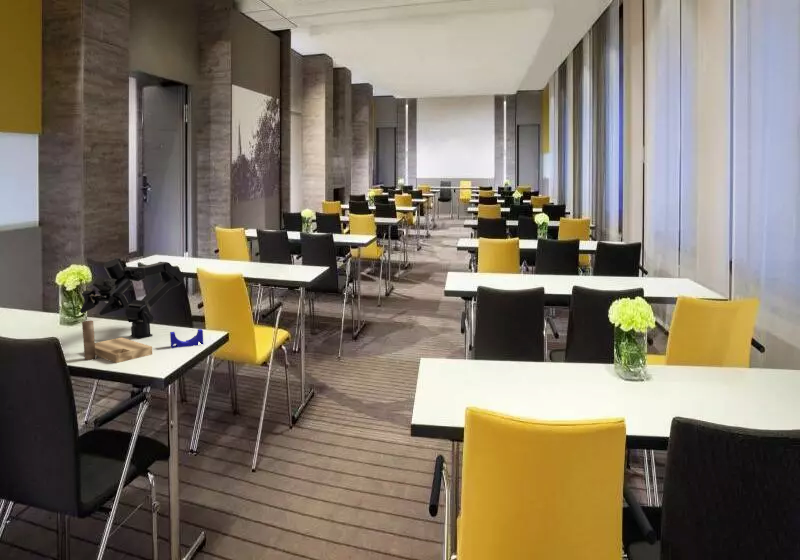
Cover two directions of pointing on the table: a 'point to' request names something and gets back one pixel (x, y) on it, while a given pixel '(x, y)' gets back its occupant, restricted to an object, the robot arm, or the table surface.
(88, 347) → the stool leg
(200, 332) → the blue cradle bracket
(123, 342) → the stool seat
